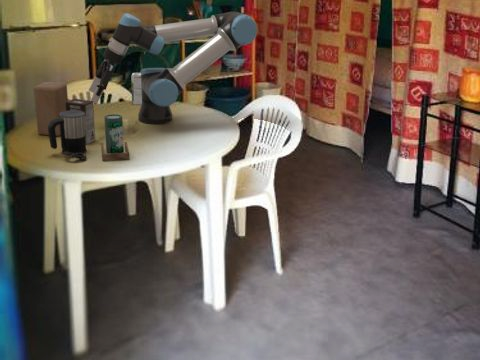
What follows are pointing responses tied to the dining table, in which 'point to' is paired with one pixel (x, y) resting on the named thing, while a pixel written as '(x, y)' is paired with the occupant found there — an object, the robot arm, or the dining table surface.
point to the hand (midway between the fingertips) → (92, 96)
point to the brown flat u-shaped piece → (115, 154)
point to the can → (114, 133)
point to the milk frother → (69, 133)
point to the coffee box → (88, 116)
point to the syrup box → (136, 89)
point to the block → (49, 104)
